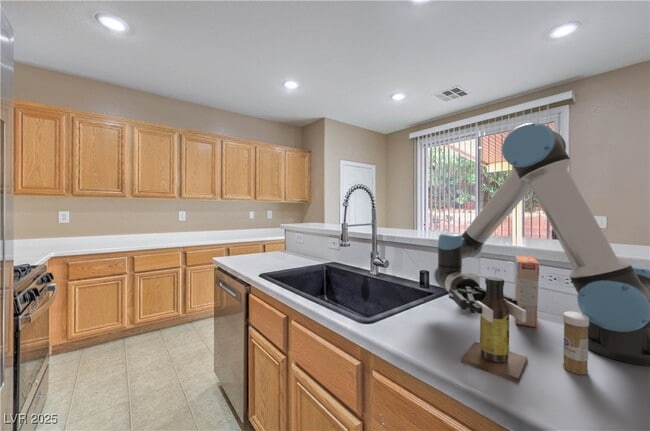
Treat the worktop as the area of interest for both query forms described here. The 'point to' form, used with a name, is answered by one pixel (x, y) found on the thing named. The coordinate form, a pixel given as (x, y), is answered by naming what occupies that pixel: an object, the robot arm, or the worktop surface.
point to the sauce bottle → (495, 323)
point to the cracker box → (527, 288)
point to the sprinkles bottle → (575, 342)
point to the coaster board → (496, 363)
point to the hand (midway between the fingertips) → (507, 316)
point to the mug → (473, 277)
